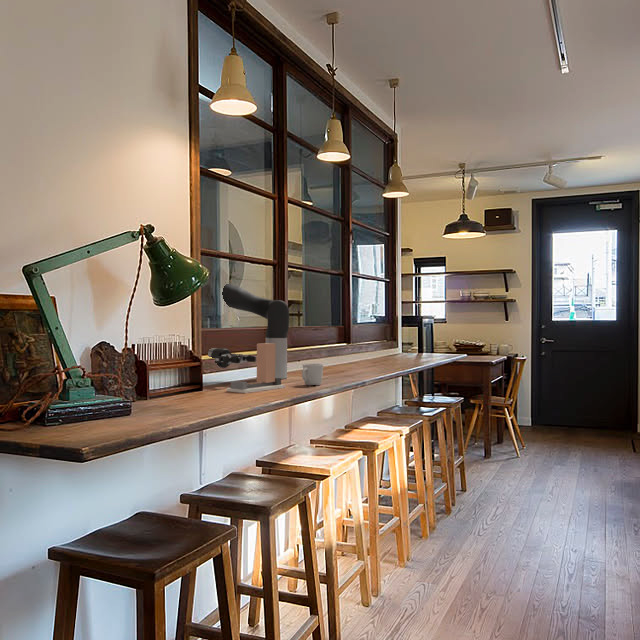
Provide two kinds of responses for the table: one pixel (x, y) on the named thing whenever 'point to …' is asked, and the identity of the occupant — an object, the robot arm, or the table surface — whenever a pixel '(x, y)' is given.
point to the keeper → (266, 362)
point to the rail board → (254, 386)
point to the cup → (312, 374)
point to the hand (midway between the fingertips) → (247, 359)
